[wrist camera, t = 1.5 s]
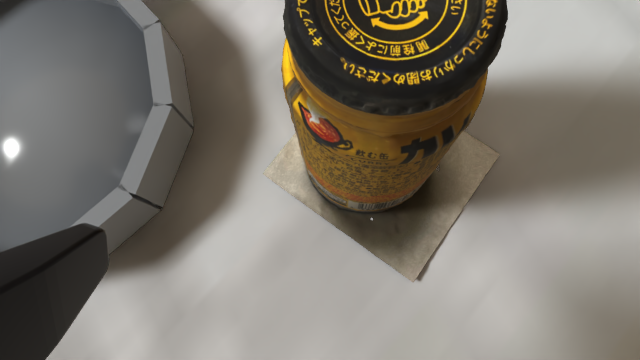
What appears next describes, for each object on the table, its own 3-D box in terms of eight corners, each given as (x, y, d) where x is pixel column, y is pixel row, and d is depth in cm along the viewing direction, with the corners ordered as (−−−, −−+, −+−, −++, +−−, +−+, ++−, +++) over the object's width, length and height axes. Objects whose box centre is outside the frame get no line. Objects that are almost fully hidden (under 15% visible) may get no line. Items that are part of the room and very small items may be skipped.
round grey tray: (113, 329, 21) (76, 335, 18) (-177, 225, 22) (-254, 215, 19) (234, 29, 24) (219, -8, 21) (-27, -41, 26) (-74, -84, 23)
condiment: (352, 61, 23) (362, -171, 12) (498, 155, 22) (679, -3, 10) (263, 175, 22) (175, 43, 10) (412, 283, 21) (504, 270, 9)
